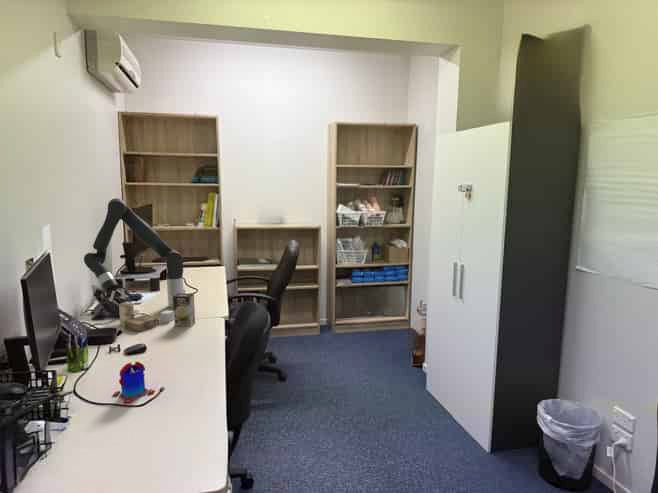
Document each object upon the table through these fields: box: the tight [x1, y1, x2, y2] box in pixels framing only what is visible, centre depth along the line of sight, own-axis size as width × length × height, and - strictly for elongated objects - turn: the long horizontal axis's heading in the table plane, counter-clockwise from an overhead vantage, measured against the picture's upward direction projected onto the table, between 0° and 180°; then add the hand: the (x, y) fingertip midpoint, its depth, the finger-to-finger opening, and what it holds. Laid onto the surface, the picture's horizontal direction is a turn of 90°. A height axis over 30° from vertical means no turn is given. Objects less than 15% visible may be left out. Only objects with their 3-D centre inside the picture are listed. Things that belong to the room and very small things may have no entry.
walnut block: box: [123, 314, 158, 333], centre depth 229 cm, size 11×11×4 cm
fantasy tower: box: [111, 361, 156, 405], centre depth 158 cm, size 12×12×12 cm
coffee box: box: [173, 292, 196, 327], centre depth 232 cm, size 9×6×16 cm
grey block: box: [159, 309, 175, 323], centre depth 239 cm, size 5×5×5 cm
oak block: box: [118, 301, 135, 326], centre depth 234 cm, size 5×5×11 cm
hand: (122, 306), depth 236 cm, fingers open, 8 cm apart
